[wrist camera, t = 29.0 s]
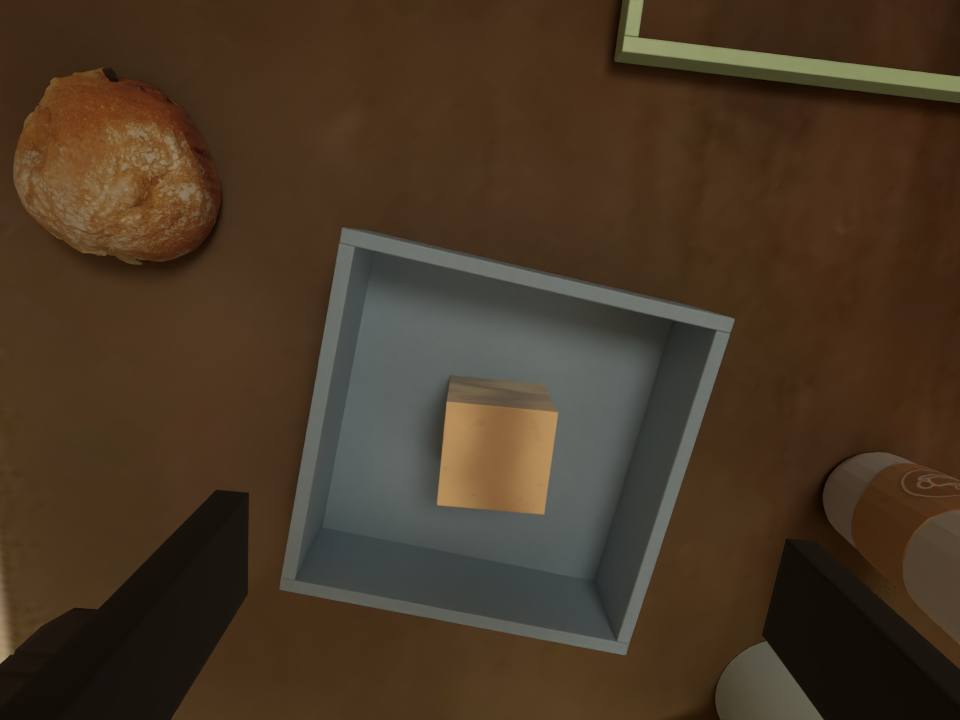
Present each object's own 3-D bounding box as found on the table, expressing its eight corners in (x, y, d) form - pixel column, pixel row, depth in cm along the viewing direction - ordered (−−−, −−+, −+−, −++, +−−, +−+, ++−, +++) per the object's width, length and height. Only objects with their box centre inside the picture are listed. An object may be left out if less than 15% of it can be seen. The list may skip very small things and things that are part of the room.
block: (441, 463, 36) (436, 505, 31) (450, 374, 35) (446, 401, 29) (532, 471, 37) (544, 515, 31) (543, 383, 35) (558, 412, 30)
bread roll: (105, 237, 37) (33, 299, 31) (21, 65, 31) (-92, 99, 24) (253, 228, 37) (212, 288, 31) (199, 55, 31) (134, 86, 24)
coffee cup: (932, 430, 37) (1234, 555, 22) (918, 544, 39) (1190, 727, 24) (808, 438, 37) (1029, 567, 22) (800, 551, 39) (1000, 739, 24)
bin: (365, 229, 34) (341, 226, 27) (687, 304, 35) (735, 318, 29) (310, 531, 38) (278, 590, 31) (600, 588, 39) (625, 655, 33)
